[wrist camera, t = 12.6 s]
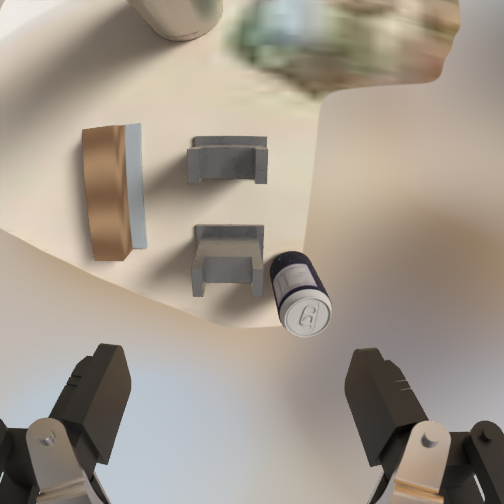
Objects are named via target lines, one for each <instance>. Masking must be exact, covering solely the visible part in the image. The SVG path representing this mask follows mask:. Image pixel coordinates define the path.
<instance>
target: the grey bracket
mask: <svg viewBox="0 0 504 504" xmlns="http://www.w3.org/2000/svg"><path fill="white" fill-rule="evenodd" d="M196 235H197V252H196V255H195V259H194V262H193V265H192V268H191V274H192V289H193V297H203V295H204V290H205V285H206V283H251V288H252V297H262V296H263V273H264V268H263V240H264V225H196Z"/></svg>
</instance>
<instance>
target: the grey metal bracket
mask: <svg viewBox="0 0 504 504" xmlns="http://www.w3.org/2000/svg"><path fill="white" fill-rule="evenodd" d="M267 166H268V149H267V137H257V136H198V137H195V147H193V148H190V149H187V181H188V184H199V183H200V182H201V180H202V179H208V178H238V179H254V182H255V184H267Z"/></svg>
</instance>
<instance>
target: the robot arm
mask: <svg viewBox="0 0 504 504" xmlns="http://www.w3.org/2000/svg"><path fill="white" fill-rule="evenodd" d="M127 1H128V2H129V3H130V4H131V5H132V7H133V8H134V9H135V10H136V11H137V12H138V13H139V14H140V15H141V16H142V17H143V19H144V20H145V21H146V22H147V23H148V24H149V25H150V26H151V27H152V29H153V30H154V31H155V32H156V33H157V34H159V35H160V36H161V37H163V38H166V39H168V40H173V41H186V40H192V39H195V38H198V37H200V36H202V35H204V34H206V33H207V32H208V31H210V30H211V29H212V28H213V27H214V26H215V25H216V24H217V23H218V21H219V19H220V18H221V15H222V11H223V1H222V0H127ZM130 392H131V377H130V373H129V369H128V366H127V362H126V358H125V355H124V351H123V348H122V346H119V345H110V344H100V345H99V346H98V348H97V349H96V351H95V353H94V355H93V357H92V356H86V357H85V358H84V359H83V360H81V361H80V362H79V363H78V364H77V365H76V367H75V369H74V370H73V372H72V374H71V377H70V378H69V380H68V381H67V385H66V386H65V387H64V389H63V390H62V392H61V394H60V396H59V398H58V400H57V402H56V404H55V406H54V408H53V409H52V411H51V413H50V415H49V417H48V418H42V419H39V420H37V421H35V422H34V423H32V424H31V426H30V427H29V428H28V429H21V428H7V427H6V425H5V424H4V423H3V421H2V420H1V419H0V477H1V474H2V472H4V474H3V477H2V480H1V483H0V504H36V503H37V504H111V502H110V501H109V499H108V497H107V495H106V493H105V491H104V489H103V487H102V485H101V483H100V481H99V479H98V478H97V475H96V473H95V471H94V469H95V466H96V463H101V464H105V465H108V462H109V458H110V455H111V451H112V448H113V445H114V442H115V438H116V435H117V432H118V429H119V425H120V422H121V419H122V416H123V413H124V410H125V407H126V404H127V401H128V398H129V395H130ZM345 395H346V398H347V401H348V404H349V407H350V409H351V412H352V415H353V418H354V421H355V424H356V426H357V429H358V432H359V435H360V438H361V441H362V443H363V447H364V450H365V453H366V455H367V459H368V462H369V465H370V467H373V466H377V465H382V467H383V470H384V471H383V472H382V473H381V476H380V478H379V480H378V482H377V484H376V486H375V488H374V490H373V492H372V495H371V496H370V498H369V500H368V502H367V504H504V434H503V432H502V430H501V429H500V428H499V427H498V426H497V425H496V424H495V423H493V422H490V421H480V422H478V423H477V424H475V425H474V426H473V428H472V429H471V430H470V432H448V430H447V429H446V428H445V427H444V426H443V425H441V424H440V423H438V422H434V421H429V419H428V418H427V416H426V414H425V412H424V411H423V409H422V407H421V405H420V403H419V401H418V400H417V398H416V396H415V394H414V392H413V391H412V390H411V389H410V385H409V384H408V382H407V381H406V379H405V377H404V375H403V374H402V372H401V370H400V368H398V367H397V366H396V365H395V364H394V363H392V362H391V361H390V360H386V361H384V359H383V357H382V356H381V354H380V352H379V350H378V349H377V348H365V349H356V350H355V351H354V353H353V356H352V359H351V363H350V366H349V369H348V373H347V376H346V379H345ZM475 474H476V476H477V478H478V481H479V483H480V486H481V488H482V490H483V493H484V496H485V502H484V501H483V498H482V496H481V493H480V491H479V488H478V486H477V484H476V481H475V479H474V477H473V476H474V475H475ZM39 492H40V494H39Z"/></svg>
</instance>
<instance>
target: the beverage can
mask: <svg viewBox="0 0 504 504" xmlns="http://www.w3.org/2000/svg"><path fill="white" fill-rule="evenodd" d="M270 277H271V282H272V287H273V291H274V296H275V301H276V306H277V310H278V315H279V319H280V322H281V323H282V325H283V326H284V327H285V328H286V329H287V330H288V331H289V332H290V333H291V334H293V335H295V336H297V337H311V336H314V335H317V334H319V333H320V332H322V331H323V330H324V329H325V328H326V327H327V326H328V324H329V322H330V320H331V310H332V303H331V300H330V298H329V296H328V294H327V292H326V290H325V288H324V287H323V284H322V282H321V280H320V279H319V277H318V275H317V273H316V271H315V269H314V267H313V265H312V263H311V261H310V260H309V258H308V257H307V256H306V255H304V254H303V253H300V252H296V251H289V252H285V253H283V254H281V255H279V256H278V257H277V258H276V259H275V260H274V261H273V263H272V265H271V267H270Z"/></svg>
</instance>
